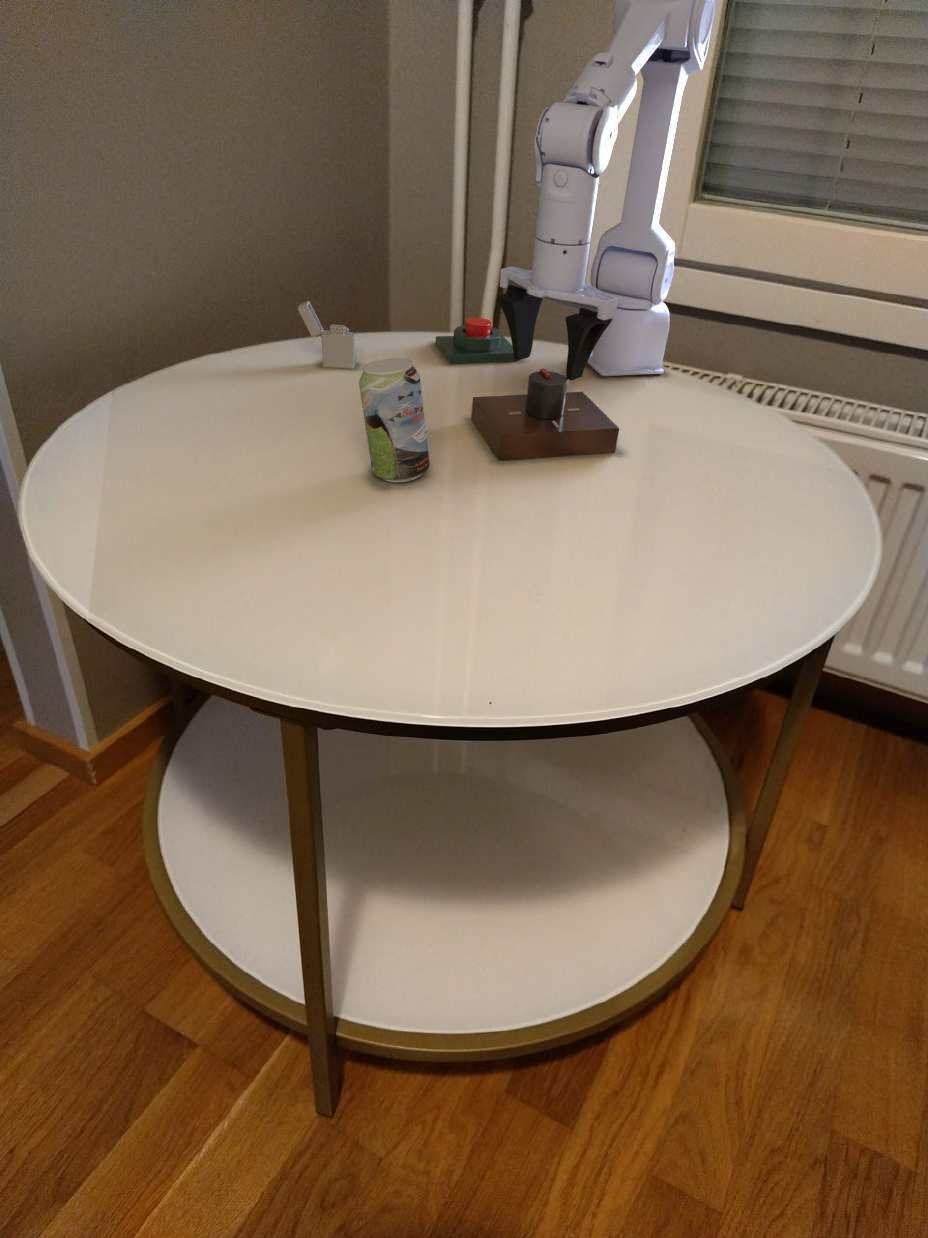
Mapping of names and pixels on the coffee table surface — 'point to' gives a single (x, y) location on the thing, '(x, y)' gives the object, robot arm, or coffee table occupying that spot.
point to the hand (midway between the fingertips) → (547, 367)
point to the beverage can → (394, 419)
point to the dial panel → (543, 428)
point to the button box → (475, 347)
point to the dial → (546, 394)
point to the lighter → (331, 340)
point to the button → (478, 327)
